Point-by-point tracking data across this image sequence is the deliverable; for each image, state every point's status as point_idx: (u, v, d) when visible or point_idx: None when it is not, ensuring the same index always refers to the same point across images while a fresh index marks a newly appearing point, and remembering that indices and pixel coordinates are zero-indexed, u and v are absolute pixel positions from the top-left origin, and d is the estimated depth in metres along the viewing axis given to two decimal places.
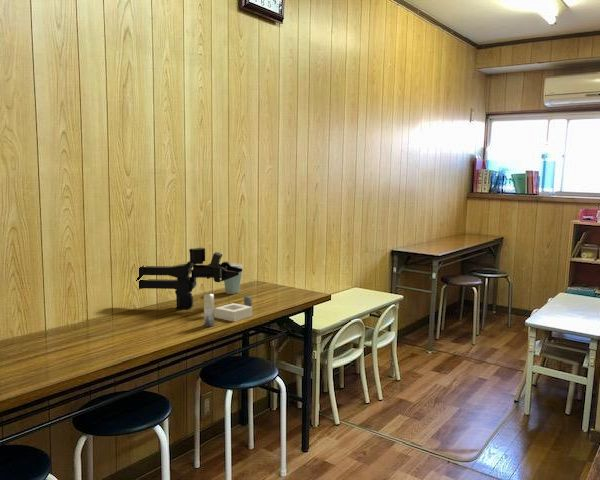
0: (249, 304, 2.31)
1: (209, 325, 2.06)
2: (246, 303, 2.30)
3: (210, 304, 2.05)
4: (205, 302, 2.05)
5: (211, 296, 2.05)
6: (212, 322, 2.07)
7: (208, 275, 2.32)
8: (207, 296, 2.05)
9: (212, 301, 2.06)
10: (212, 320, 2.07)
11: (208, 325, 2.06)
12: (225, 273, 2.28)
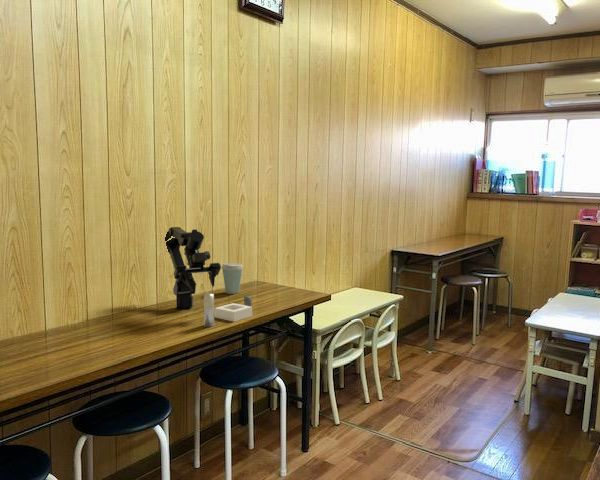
0: (249, 304, 2.31)
1: (209, 325, 2.06)
2: (246, 303, 2.30)
3: (210, 304, 2.05)
4: (205, 302, 2.05)
5: (211, 296, 2.05)
6: (212, 322, 2.07)
7: (187, 262, 2.21)
8: (207, 296, 2.05)
9: (212, 301, 2.06)
10: (212, 320, 2.07)
11: (208, 325, 2.06)
12: None
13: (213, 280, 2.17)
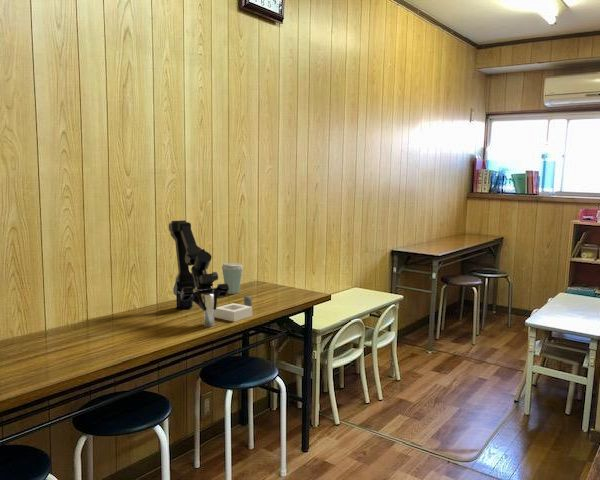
0: (249, 304, 2.31)
1: (209, 325, 2.06)
2: (246, 303, 2.30)
3: (210, 304, 2.05)
4: (205, 302, 2.05)
5: (211, 296, 2.05)
6: (212, 322, 2.07)
7: (195, 283, 2.13)
8: (207, 296, 2.05)
9: (212, 301, 2.06)
10: (212, 320, 2.07)
11: (208, 325, 2.06)
12: None
13: (215, 303, 2.08)
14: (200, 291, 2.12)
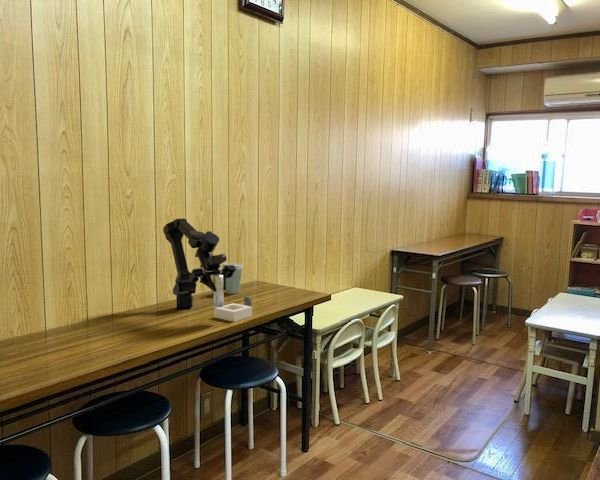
0: (249, 304, 2.31)
1: (219, 305, 2.09)
2: (246, 303, 2.30)
3: (220, 284, 2.09)
4: (215, 283, 2.08)
5: (221, 277, 2.09)
6: (222, 302, 2.10)
7: (201, 265, 2.15)
8: (217, 277, 2.08)
9: (222, 282, 2.09)
10: (222, 300, 2.10)
11: (218, 305, 2.09)
12: (207, 279, 2.10)
13: (224, 283, 2.11)
14: None
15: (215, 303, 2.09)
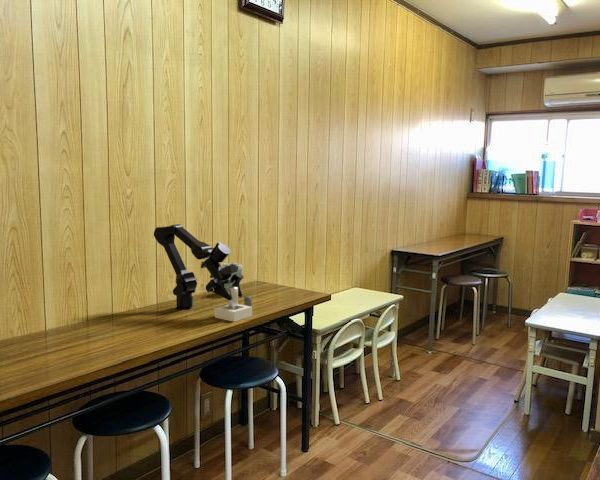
0: (249, 304, 2.31)
1: None
2: (246, 303, 2.30)
3: (237, 296, 2.19)
4: (232, 295, 2.18)
5: (237, 289, 2.19)
6: None
7: (212, 275, 2.22)
8: (234, 289, 2.18)
9: (237, 293, 2.20)
10: None
11: None
12: (221, 289, 2.17)
13: (240, 291, 2.23)
14: None
15: None
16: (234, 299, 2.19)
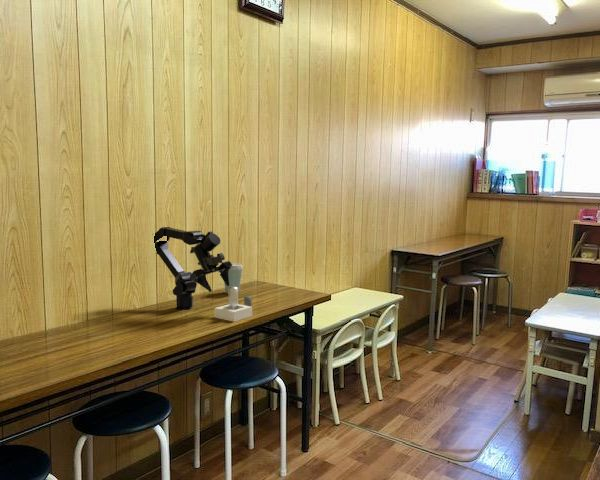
0: (249, 304, 2.31)
1: None
2: (246, 303, 2.30)
3: (237, 296, 2.19)
4: (232, 295, 2.18)
5: (237, 289, 2.19)
6: None
7: (199, 263, 2.25)
8: (234, 289, 2.18)
9: (237, 293, 2.20)
10: None
11: None
12: (203, 280, 2.20)
13: (228, 280, 2.26)
14: None
15: None
16: (234, 299, 2.19)
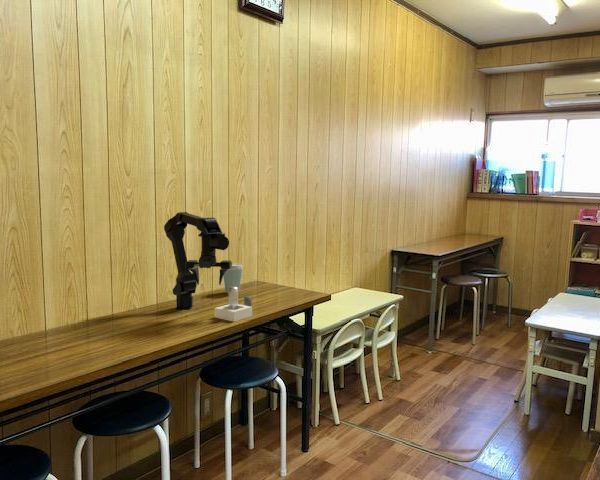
0: (249, 304, 2.31)
1: None
2: (246, 303, 2.30)
3: (237, 296, 2.19)
4: (232, 295, 2.18)
5: (237, 289, 2.19)
6: None
7: None
8: (234, 289, 2.18)
9: (237, 293, 2.20)
10: None
11: None
12: None
13: (220, 280, 2.21)
14: None
15: None
16: (234, 299, 2.19)
